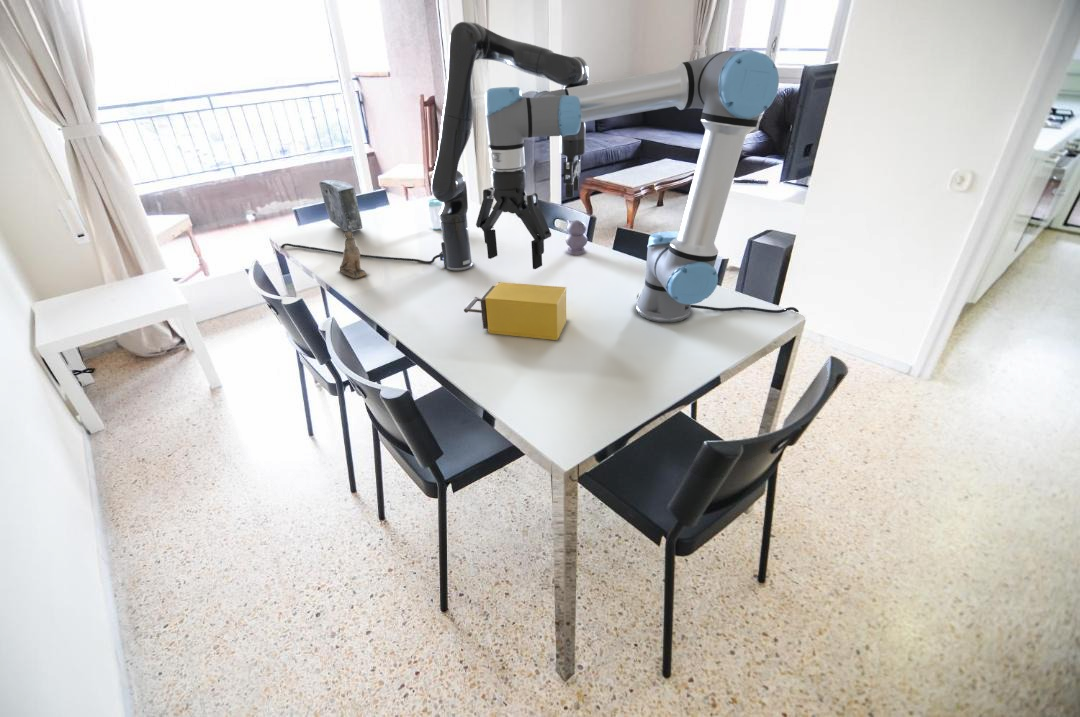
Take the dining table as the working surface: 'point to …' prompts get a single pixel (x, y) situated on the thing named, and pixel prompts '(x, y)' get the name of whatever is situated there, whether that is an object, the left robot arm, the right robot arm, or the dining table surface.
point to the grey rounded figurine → (576, 237)
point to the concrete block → (341, 204)
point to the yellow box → (526, 310)
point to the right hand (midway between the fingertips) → (514, 262)
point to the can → (434, 213)
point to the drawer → (483, 308)
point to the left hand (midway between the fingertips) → (572, 193)
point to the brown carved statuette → (351, 258)
